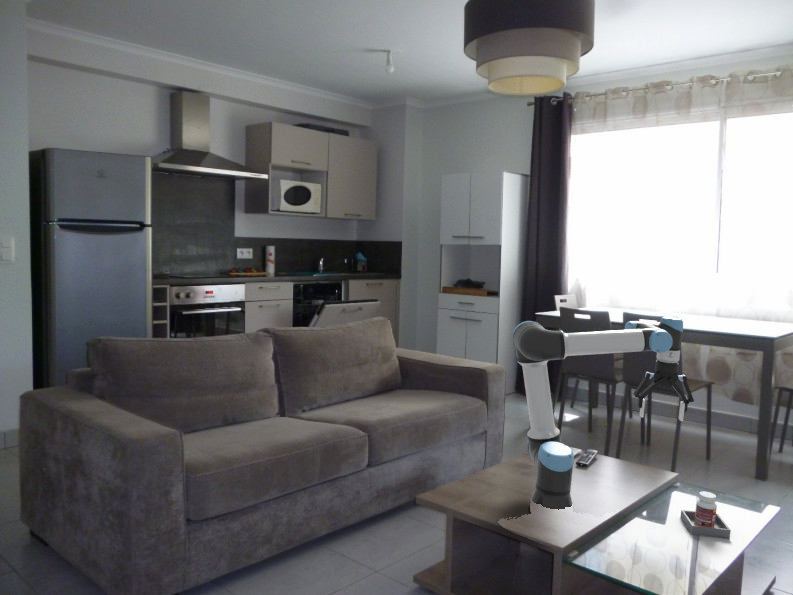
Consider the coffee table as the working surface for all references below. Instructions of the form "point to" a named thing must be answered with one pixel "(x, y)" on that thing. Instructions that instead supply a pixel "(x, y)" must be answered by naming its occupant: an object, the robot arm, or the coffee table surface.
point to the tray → (718, 531)
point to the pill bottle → (705, 509)
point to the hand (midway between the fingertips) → (660, 418)
